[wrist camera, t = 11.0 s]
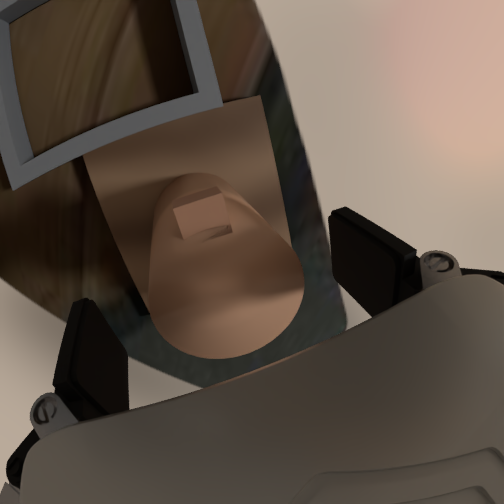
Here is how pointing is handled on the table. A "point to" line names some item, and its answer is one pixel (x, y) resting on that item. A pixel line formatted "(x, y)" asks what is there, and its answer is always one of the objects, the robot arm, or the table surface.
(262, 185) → the board
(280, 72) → the table surface
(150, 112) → the holder frame
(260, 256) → the tan tapered capsule
